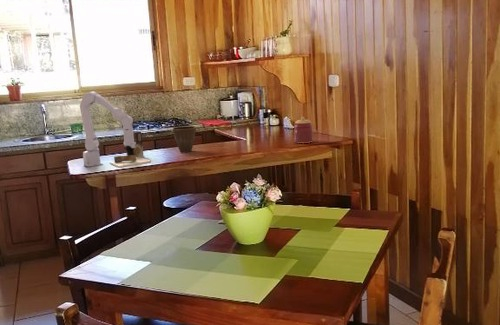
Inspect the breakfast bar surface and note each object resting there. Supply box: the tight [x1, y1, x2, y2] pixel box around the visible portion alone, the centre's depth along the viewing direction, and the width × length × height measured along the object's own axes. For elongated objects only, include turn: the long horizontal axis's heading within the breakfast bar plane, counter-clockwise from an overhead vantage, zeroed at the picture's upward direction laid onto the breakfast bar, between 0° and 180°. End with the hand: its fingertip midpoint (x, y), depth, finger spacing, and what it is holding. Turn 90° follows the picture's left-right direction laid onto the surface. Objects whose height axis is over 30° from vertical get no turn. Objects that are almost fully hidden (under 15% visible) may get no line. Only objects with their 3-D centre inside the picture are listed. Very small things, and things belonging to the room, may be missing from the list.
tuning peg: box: [113, 155, 137, 162], centre depth 312 cm, size 13×4×3 cm, turn 86°
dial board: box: [109, 156, 152, 168], centre depth 312 cm, size 20×16×1 cm
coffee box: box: [125, 130, 145, 158], centre depth 331 cm, size 9×6×16 cm
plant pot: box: [172, 125, 196, 153], centre depth 341 cm, size 15×15×16 cm
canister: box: [293, 116, 314, 143], centre depth 351 cm, size 13×13×18 cm
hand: (130, 158), depth 313 cm, fingers closed, pressing on tuning peg
